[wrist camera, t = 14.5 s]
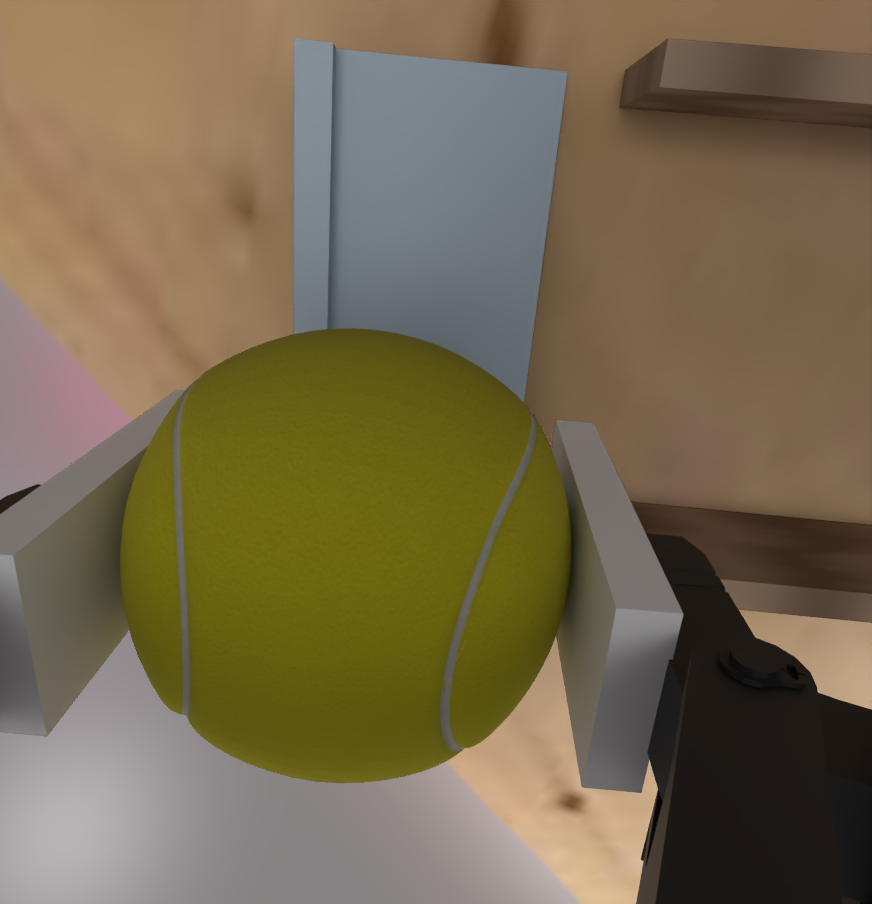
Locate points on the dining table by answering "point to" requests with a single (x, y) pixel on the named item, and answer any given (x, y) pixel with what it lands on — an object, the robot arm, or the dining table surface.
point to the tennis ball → (345, 555)
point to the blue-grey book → (423, 199)
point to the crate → (742, 534)
